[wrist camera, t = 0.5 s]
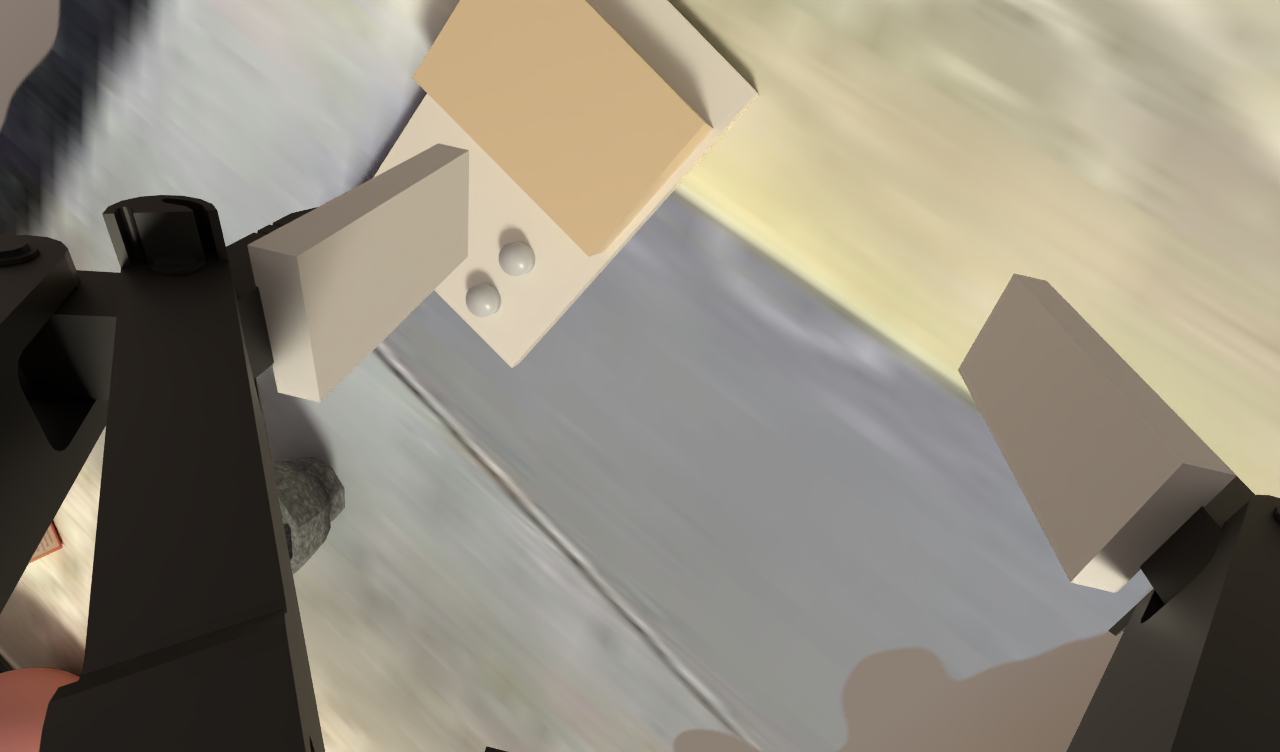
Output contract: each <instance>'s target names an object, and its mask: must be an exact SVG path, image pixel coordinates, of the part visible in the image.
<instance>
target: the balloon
mask: <svg viewBox="0 0 1280 752" xmlns="http://www.w3.org/2000/svg"><path fill="white" fill-rule="evenodd" d="M79 678H80V677H78V676H77V675H75V674H72V673H70V672H67V671H63V670H59V669H54V668H42V667H36V668H24V669H18V670H13V671H9V672H5V673H1V674H0V752H39V748H40V741H41V734H42V728H43V724H44V720H45V716H46V711H47V707H48V703H49V701H50V700H51V698H52V697H53V695H54V694H55V692H56V690H57V689H58V687H61V686H64V685H67V684H70V683H73V682H76V681H78V680H79Z"/></svg>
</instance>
